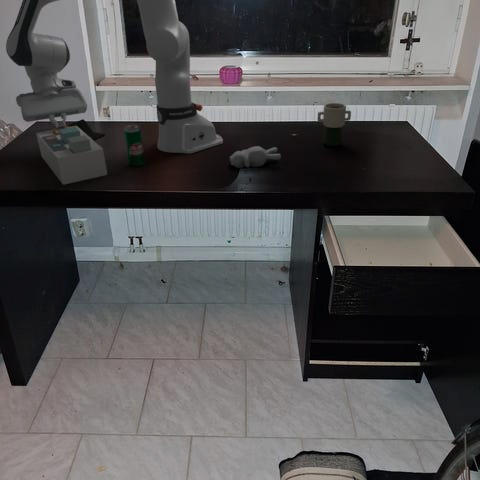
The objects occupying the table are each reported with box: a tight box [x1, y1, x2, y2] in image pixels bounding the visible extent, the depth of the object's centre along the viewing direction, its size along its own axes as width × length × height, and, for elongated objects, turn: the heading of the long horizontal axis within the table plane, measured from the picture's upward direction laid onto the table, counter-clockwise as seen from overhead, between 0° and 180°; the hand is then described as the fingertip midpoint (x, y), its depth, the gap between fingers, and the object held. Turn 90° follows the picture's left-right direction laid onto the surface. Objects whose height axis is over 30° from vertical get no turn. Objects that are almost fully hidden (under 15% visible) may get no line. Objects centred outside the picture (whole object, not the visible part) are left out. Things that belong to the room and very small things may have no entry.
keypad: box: [35, 126, 108, 185], centre depth 152 cm, size 13×28×8 cm, turn 31°
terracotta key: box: [52, 125, 70, 136], centre depth 159 cm, size 5×5×4 cm
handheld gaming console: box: [66, 119, 106, 142], centre depth 176 cm, size 12×7×10 cm
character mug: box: [317, 102, 352, 147], centre depth 162 cm, size 11×7×13 cm, turn 94°
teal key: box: [59, 127, 81, 144], centre depth 151 cm, size 5×5×4 cm
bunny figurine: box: [229, 145, 282, 169], centre depth 150 cm, size 10×5×15 cm
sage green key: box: [67, 135, 91, 154], centre depth 143 cm, size 5×5×4 cm
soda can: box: [123, 124, 146, 168], centre depth 151 cm, size 5×5×12 cm
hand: (61, 127), depth 158 cm, fingers closed, pressing on terracotta key
